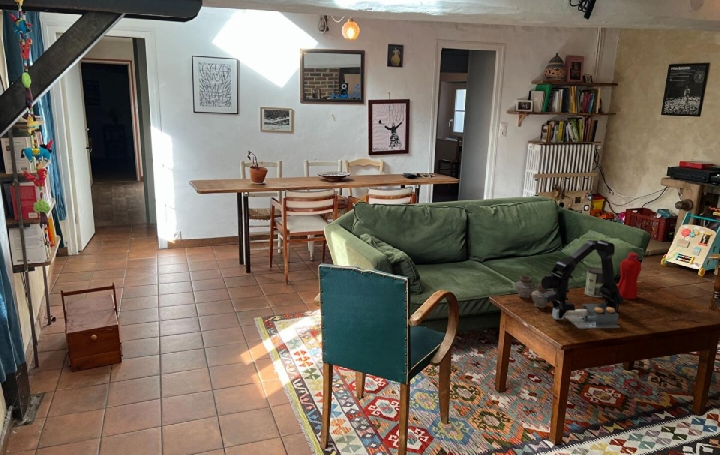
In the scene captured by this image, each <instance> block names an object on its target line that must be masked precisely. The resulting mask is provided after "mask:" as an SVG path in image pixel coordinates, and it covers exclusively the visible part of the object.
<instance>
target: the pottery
mask: <svg viewBox="0 0 720 455" xmlns="http://www.w3.org/2000/svg"><path fill="white" fill-rule="evenodd" d="M532 280H533V278H532V276H528V275H520V276H519V281H516V282H514V288H515V291H516V292H517V293H518V296H519V297H521V298H526V299H528V298H530V296H531V299H532V301H533V302H534V307H536V308H538V307H539V308H540V309H544V307H545V308H546V307H547V306H546V305H547V304H548V303H547V302H546V301H545V300H544V299H543V295H542V294H543V293H545V292H547V291H548V290H547V289H544V288H543V287H542V285H541V282H539V283H537V285H536V284H535V283H533V282H532ZM536 288H537V289H536Z"/></svg>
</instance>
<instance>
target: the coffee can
mask: <svg viewBox="0 0 720 455" xmlns="http://www.w3.org/2000/svg"><path fill="white" fill-rule="evenodd" d="M603 283H604V280H603V272H602V267H595V266H593V267H592V266H591V267H588V268H587V274H586V280H585V288H584V289H585V290H584V294H585V295H587V296H589V297H592V298H593V297H594V298H603V297H602V294H601V293H600V286H602V285H603Z"/></svg>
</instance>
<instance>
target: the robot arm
mask: <svg viewBox="0 0 720 455" xmlns="http://www.w3.org/2000/svg"><path fill="white" fill-rule="evenodd" d="M615 248H616V246H615V244H614V243H613V242H610V241H607V240H604V239H599V240H596V239H594V240H592V239H589V240H586V242H585V243H584V244H583V245H582V246H581V247H579V248H578V249H577V250H576V251H574V252H573V253H572V254H570V255H569V256H567V257H564V258H561V259H559V260H558V261H557V262H556V264H554V267H553V268H552V269H551V270H550V272H549V274H545V275H544V277H542V278H541V281H540V283H541V285H542V287H543V288H544V289H546V291H547V292H545V293H543V294H542V295H543V299H544V300H545V301H546V302H547V304H549V303H551V305H552V307H553V308H558V309H559V319H558V320H561V319H560V318H562V317H563V315H564V314H565V313H566V311H575V310H576V309H575V308H576V305H575V304H574V303H573V302H571V301H569V297H568V293H570V289H569V282H570V279H573V278H574V277H573V275H572V273H573V272H574V271H575V270H576V268H577V267H576V266H577V265H578V264H580V262H582V261H583V260H584V259H585V258H586V257H588V256H589V255H591V253H592V252H594V251H596V253H597V254H598V256H599V258H600V263H601V268H602V272H603V280H604V283H603V285H602V286H600V293H601V294H602V297H601V298H602V299H604V301H603V304H605V305H606V306H608V307H611V308H614V309H615V312H616V313H618V314H621V313H620V311H619V308H620V304H622V303H623V301H624V299H623V298H622V296H621V295H620V292H619V288H618V287H617V286H618V284H616V282H615V274H614V266H613V256H614V255H615V253H616V252H615V251H616V250H615ZM551 289H552V290H551ZM553 308H552V309H553Z"/></svg>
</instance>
